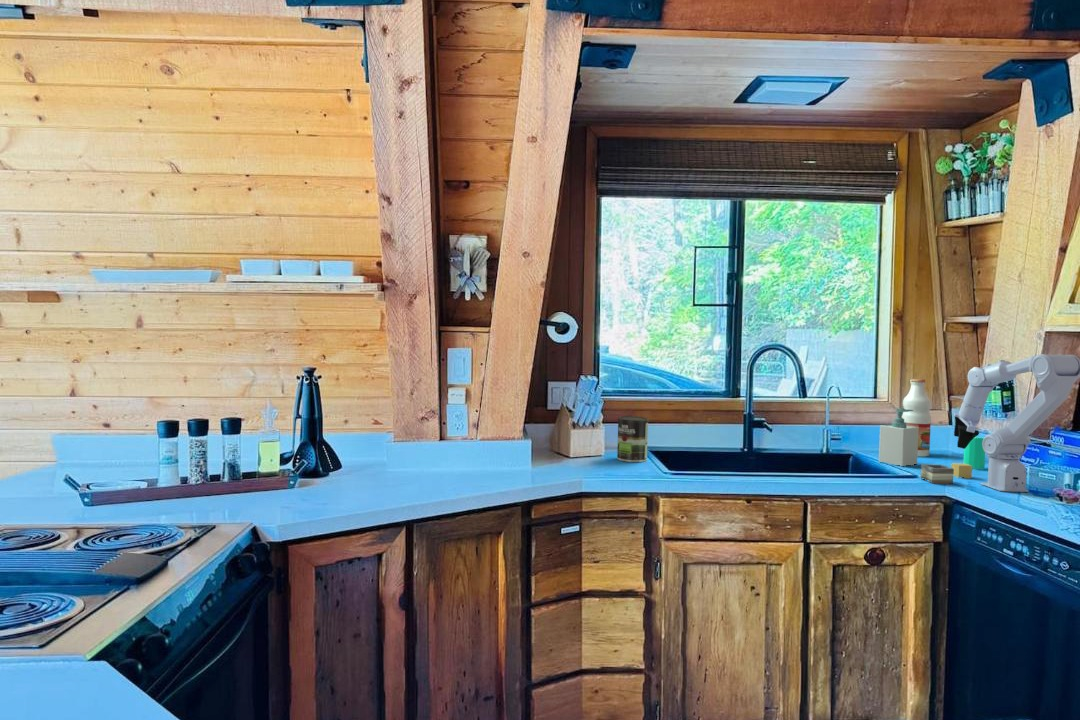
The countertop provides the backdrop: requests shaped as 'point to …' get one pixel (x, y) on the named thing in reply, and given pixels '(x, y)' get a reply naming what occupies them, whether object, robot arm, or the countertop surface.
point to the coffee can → (632, 439)
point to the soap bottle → (898, 442)
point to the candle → (975, 454)
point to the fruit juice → (919, 414)
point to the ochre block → (962, 470)
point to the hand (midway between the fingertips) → (959, 441)
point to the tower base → (937, 473)
